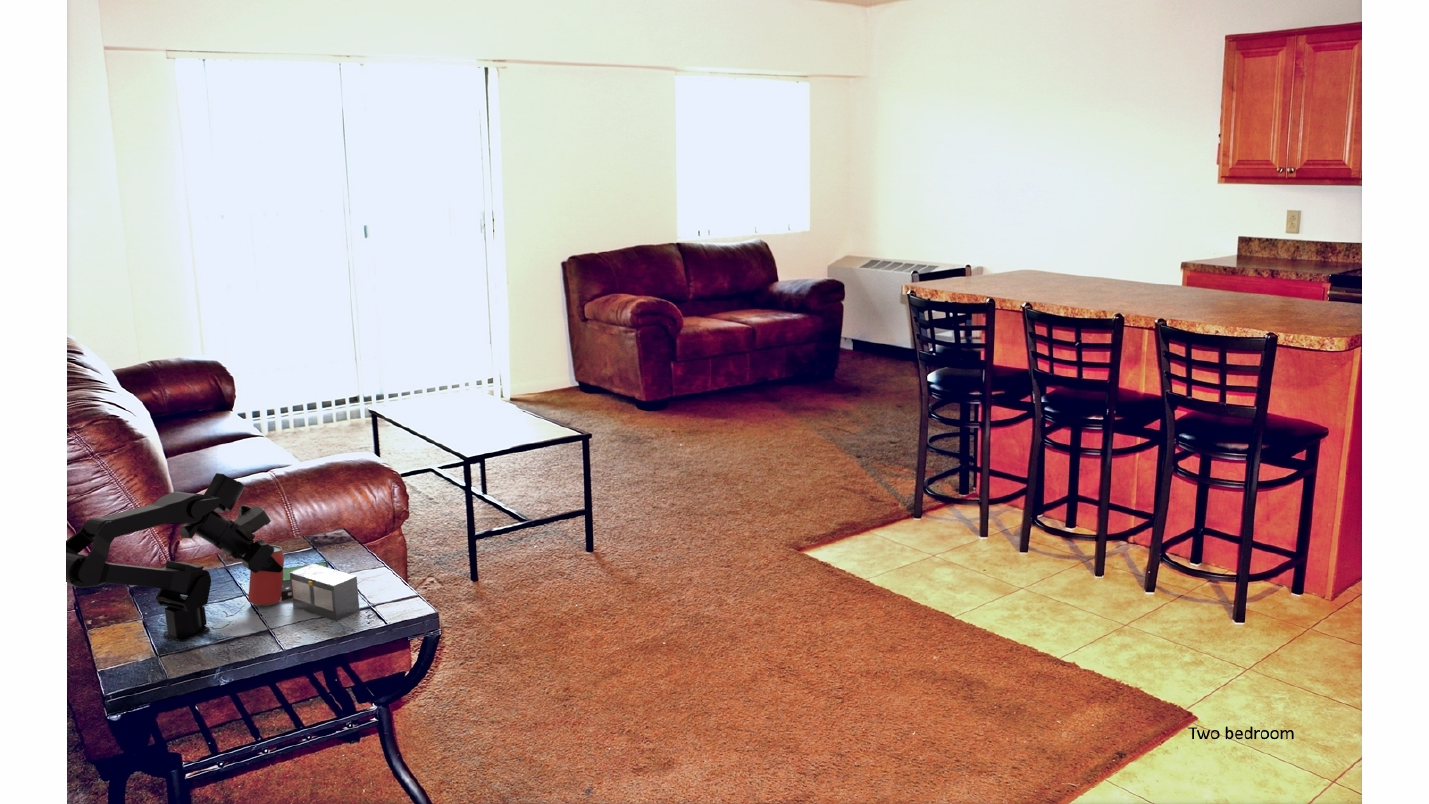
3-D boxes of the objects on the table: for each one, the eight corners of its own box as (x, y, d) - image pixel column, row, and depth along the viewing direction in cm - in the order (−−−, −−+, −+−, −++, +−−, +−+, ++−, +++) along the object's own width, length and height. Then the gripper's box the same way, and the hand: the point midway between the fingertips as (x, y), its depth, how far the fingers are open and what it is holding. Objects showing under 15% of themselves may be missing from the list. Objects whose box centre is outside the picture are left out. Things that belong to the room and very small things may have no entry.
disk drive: (331, 596, 238) (328, 571, 251) (330, 584, 237) (327, 560, 250) (281, 603, 234) (281, 578, 247) (280, 591, 233) (280, 566, 247)
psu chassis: (335, 622, 223) (331, 586, 221) (291, 607, 230) (288, 573, 228) (359, 611, 228) (356, 576, 226) (316, 597, 235) (312, 563, 234)
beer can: (256, 595, 235) (260, 542, 234) (285, 599, 235) (290, 546, 234) (242, 604, 229) (246, 550, 227) (272, 608, 229) (276, 554, 227)
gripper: (260, 508, 218) (317, 546, 228) (226, 488, 231) (281, 524, 241) (224, 554, 215) (283, 590, 225) (192, 531, 228) (249, 566, 238)
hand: (275, 566), depth 232 cm, fingers closed on beer can, 6 cm apart
